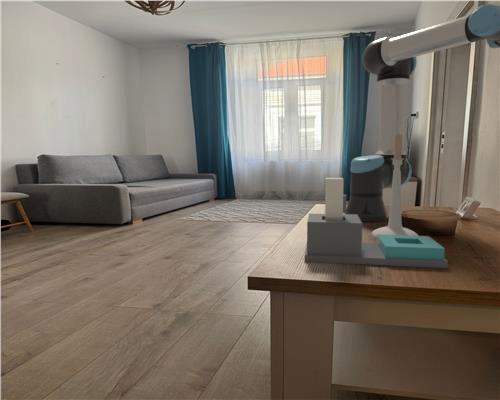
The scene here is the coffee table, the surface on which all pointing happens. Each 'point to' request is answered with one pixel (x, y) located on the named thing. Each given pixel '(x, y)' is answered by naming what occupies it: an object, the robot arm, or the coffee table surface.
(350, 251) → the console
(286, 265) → the coffee table surface
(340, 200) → the plug
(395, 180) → the candlestick
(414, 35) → the robot arm
